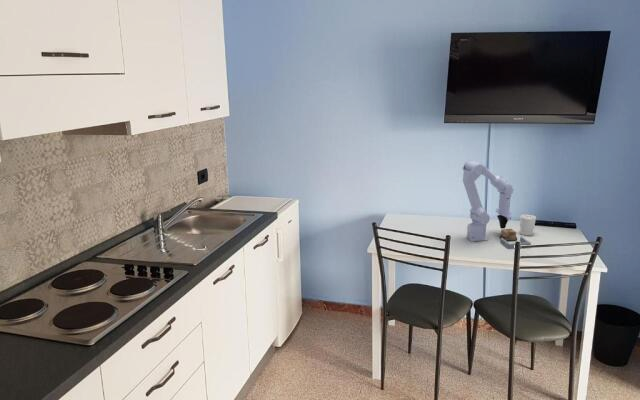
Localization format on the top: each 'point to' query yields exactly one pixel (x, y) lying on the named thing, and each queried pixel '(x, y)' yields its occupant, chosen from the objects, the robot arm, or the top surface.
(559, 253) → the top surface
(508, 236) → the tan rounded lump
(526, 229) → the white cup
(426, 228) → the top surface
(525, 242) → the bay
